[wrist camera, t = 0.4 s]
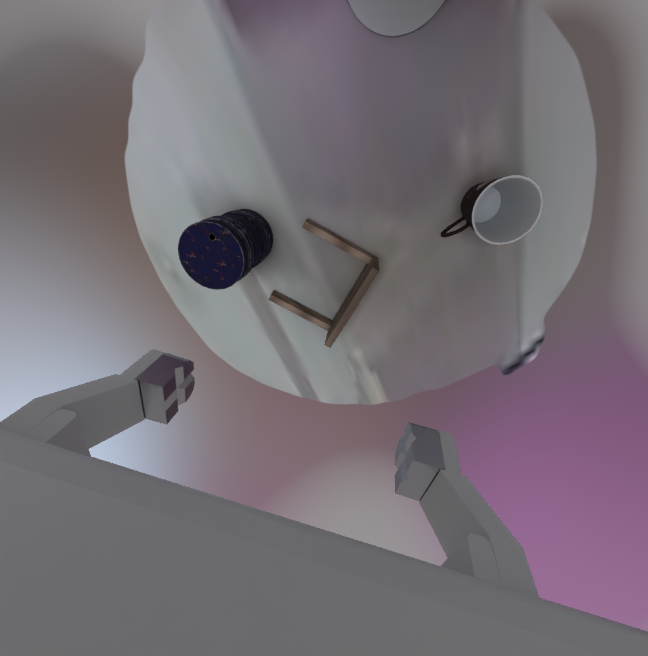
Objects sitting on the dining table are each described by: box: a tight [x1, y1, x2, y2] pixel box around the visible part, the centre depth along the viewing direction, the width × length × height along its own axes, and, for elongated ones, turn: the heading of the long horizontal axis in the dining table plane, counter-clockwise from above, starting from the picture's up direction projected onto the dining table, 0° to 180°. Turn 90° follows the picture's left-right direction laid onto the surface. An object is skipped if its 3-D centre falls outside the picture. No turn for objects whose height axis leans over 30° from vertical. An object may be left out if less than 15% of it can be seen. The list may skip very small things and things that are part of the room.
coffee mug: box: [441, 175, 543, 245], centre depth 45 cm, size 12×9×10 cm
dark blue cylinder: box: [178, 209, 273, 290], centre depth 50 cm, size 10×10×15 cm
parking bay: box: [269, 219, 379, 348], centre depth 55 cm, size 14×16×8 cm
